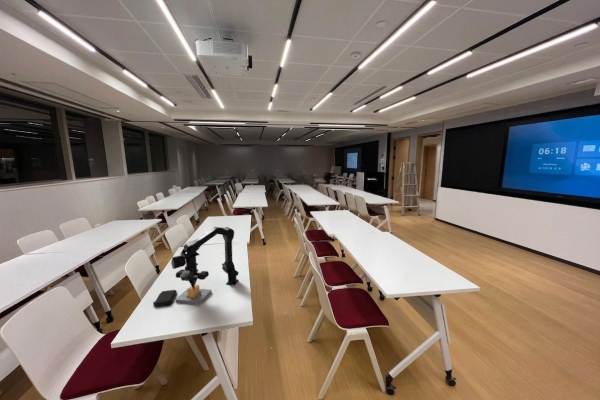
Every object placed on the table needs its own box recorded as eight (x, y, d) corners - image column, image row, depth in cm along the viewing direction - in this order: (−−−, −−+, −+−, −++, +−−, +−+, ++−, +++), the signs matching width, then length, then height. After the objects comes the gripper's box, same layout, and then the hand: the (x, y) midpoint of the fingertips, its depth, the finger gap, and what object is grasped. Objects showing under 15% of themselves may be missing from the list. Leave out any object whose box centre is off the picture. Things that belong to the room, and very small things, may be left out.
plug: (194, 294, 150) (193, 284, 149) (199, 294, 150) (199, 284, 149) (188, 299, 144) (187, 289, 143) (194, 300, 144) (193, 289, 143)
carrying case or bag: (159, 294, 150) (151, 308, 136) (158, 290, 150) (150, 304, 136) (177, 292, 153) (171, 306, 139) (177, 288, 153) (170, 301, 138)
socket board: (188, 290, 155) (188, 287, 154) (211, 292, 152) (211, 289, 152) (175, 302, 142) (175, 299, 142) (200, 304, 140) (199, 301, 139)
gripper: (168, 268, 137) (170, 293, 139) (198, 270, 134) (200, 295, 137) (180, 260, 148) (182, 283, 150) (208, 262, 145) (210, 285, 148)
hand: (193, 287), depth 146 cm, fingers closed, pressing on plug
